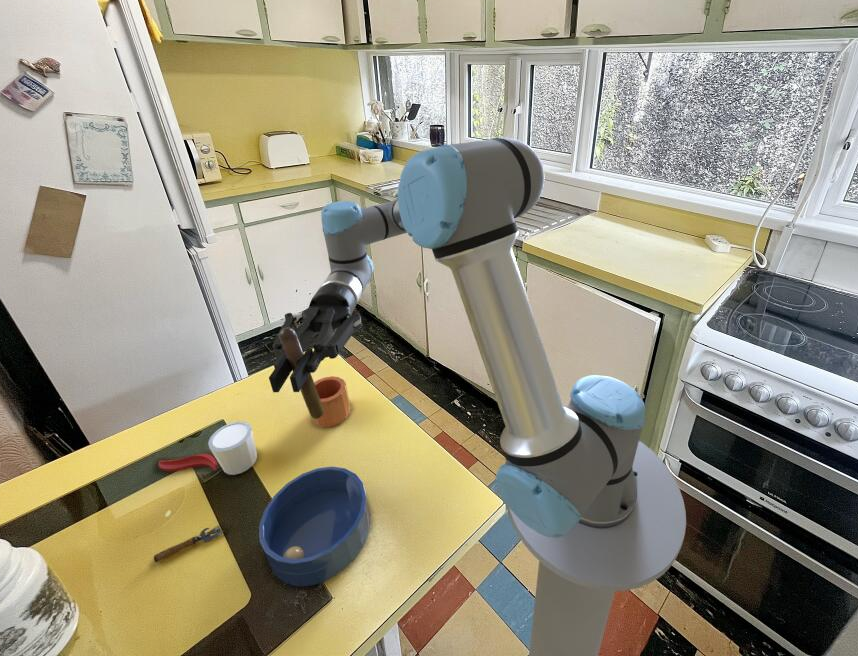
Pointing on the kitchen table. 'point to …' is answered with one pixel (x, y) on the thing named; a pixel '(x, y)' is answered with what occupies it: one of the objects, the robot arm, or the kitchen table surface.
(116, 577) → the kitchen table surface
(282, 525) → the bowl
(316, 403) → the stirring stick
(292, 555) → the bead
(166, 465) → the cayenne pepper
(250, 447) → the white cup
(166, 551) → the can opener
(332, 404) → the holder
